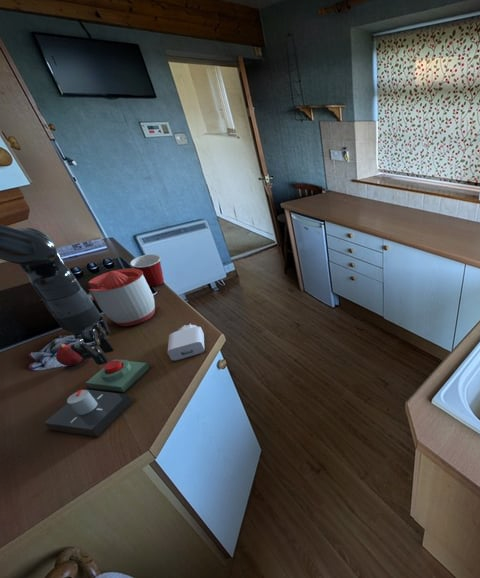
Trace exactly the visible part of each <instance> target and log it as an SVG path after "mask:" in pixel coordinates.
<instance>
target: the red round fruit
mask: <svg viewBox="0 0 480 578" xmlns="http://www.w3.org/2000/svg"><path fill="white" fill-rule="evenodd" d="M71 345H72V344H66V343H61V344H60V348H59V349H58V350H57V351H56V354H55V359H56V361H57V362H58V363H59V364H61V365H63V366H75V365H79V364H80V362H81V361H83V359H84V358H83V357H81V356H80V355H79V354H77V353H76V352H75V351H73V350H72V349H71Z"/></svg>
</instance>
